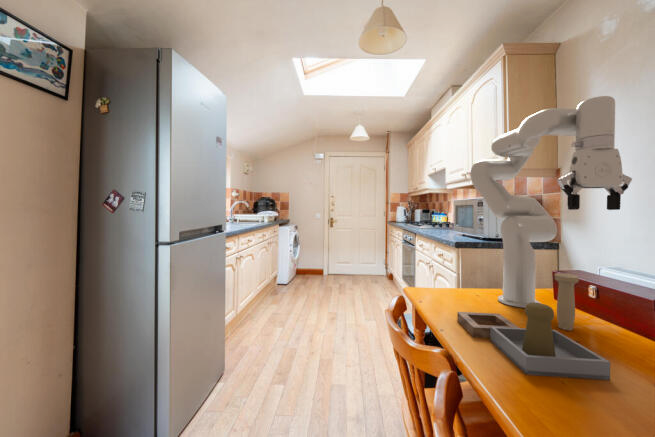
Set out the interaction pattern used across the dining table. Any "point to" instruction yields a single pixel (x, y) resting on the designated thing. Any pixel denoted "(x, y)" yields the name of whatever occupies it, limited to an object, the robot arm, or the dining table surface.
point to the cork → (539, 330)
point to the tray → (567, 362)
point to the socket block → (483, 331)
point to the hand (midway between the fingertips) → (593, 209)
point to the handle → (566, 300)
